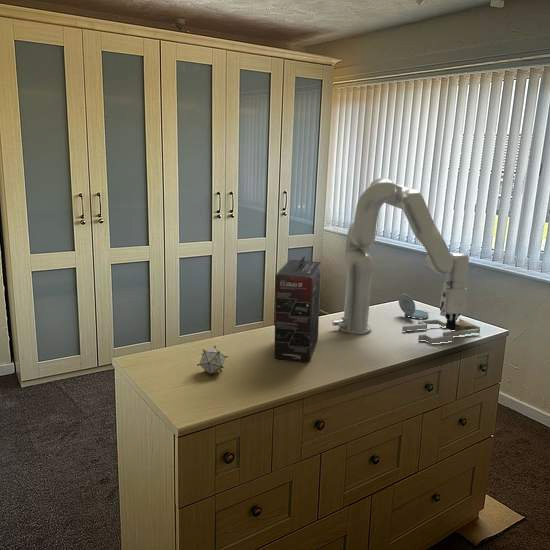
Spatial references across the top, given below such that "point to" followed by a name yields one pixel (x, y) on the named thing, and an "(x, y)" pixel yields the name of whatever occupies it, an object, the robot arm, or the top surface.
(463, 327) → the walnut block
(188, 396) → the top surface
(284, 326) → the headset box
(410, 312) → the pocket watch
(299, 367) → the top surface
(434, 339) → the box
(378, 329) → the top surface
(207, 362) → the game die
